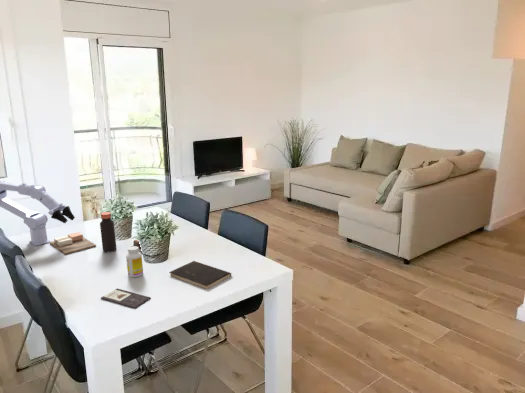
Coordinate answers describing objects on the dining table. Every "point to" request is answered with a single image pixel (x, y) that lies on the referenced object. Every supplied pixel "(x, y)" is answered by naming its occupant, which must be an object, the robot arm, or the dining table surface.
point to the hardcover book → (200, 274)
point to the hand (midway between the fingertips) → (69, 220)
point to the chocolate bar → (126, 298)
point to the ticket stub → (75, 236)
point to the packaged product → (136, 243)
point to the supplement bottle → (134, 262)
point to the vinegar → (107, 232)
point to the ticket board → (71, 244)
